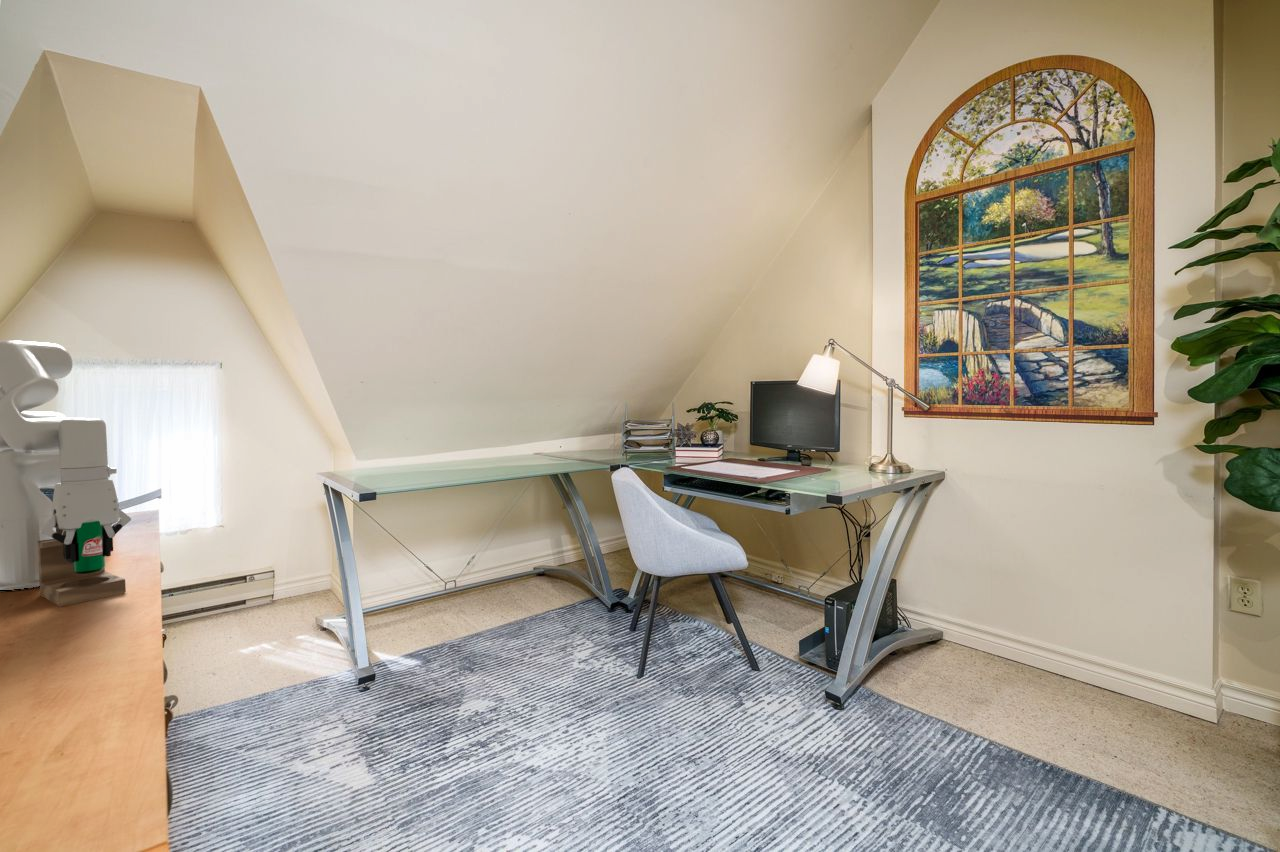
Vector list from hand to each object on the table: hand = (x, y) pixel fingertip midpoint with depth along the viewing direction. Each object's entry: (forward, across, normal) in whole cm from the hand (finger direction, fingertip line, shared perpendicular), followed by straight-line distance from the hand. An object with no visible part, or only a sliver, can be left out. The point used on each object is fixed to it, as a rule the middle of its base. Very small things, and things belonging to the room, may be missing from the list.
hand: (89, 557), depth 128 cm
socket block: (+8, +1, -3) cm, 9 cm away
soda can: (+3, 0, 0) cm, 3 cm away
